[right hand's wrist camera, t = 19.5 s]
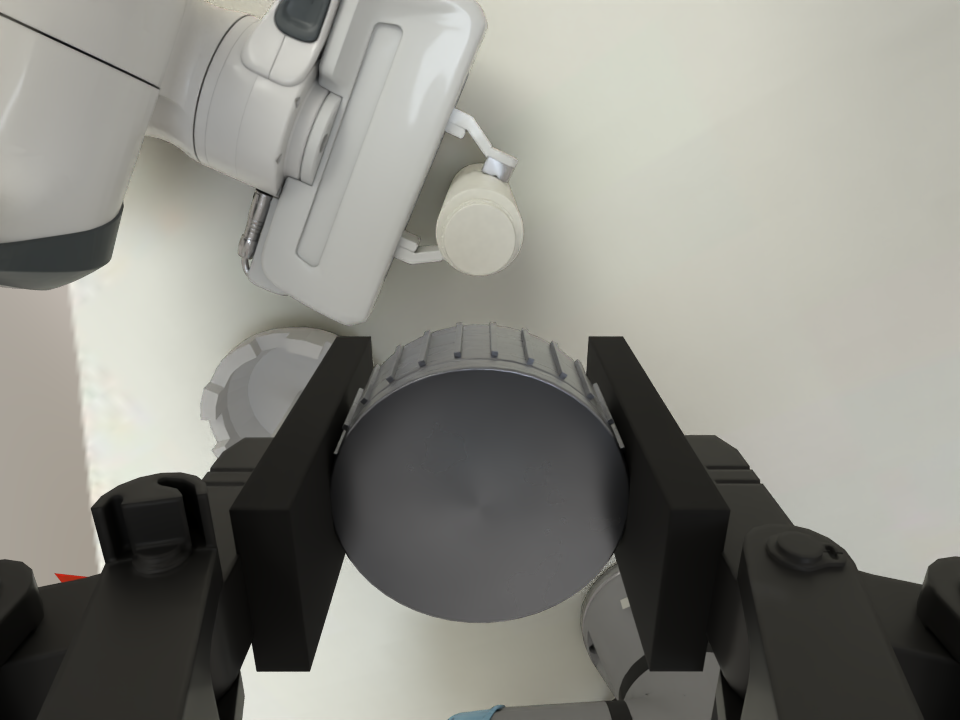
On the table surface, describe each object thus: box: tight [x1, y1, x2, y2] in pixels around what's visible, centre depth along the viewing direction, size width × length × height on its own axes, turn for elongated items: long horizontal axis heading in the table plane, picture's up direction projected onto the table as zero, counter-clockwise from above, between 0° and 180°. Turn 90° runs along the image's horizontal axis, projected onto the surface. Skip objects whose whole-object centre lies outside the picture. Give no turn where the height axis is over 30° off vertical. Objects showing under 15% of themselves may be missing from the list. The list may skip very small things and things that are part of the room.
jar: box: [436, 163, 524, 276], centre depth 38 cm, size 4×4×16 cm
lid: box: [330, 322, 630, 623], centre depth 11 cm, size 5×5×2 cm
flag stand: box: [55, 327, 339, 582], centre depth 37 cm, size 13×13×30 cm
